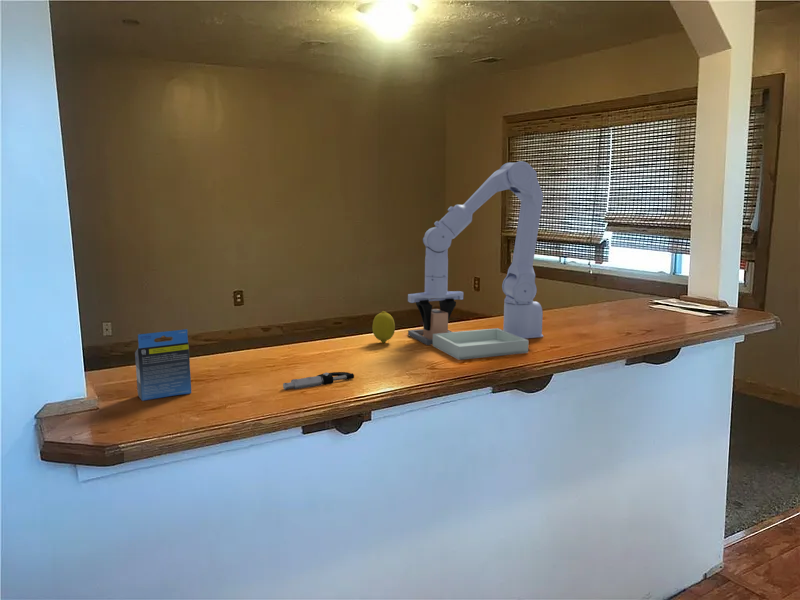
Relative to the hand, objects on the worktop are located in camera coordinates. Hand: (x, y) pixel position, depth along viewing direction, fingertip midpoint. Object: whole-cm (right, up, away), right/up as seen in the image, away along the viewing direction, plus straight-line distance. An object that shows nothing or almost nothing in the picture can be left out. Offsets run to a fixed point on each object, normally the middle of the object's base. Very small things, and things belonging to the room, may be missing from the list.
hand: (435, 329), depth 168 cm
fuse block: (0, -2, 0) cm, 2 cm away
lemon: (-13, -3, -5) cm, 14 cm away
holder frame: (0, -2, 0) cm, 2 cm away
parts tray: (+10, -4, -11) cm, 15 cm away
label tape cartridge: (-52, -10, -46) cm, 70 cm away
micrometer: (-26, -9, -36) cm, 46 cm away
